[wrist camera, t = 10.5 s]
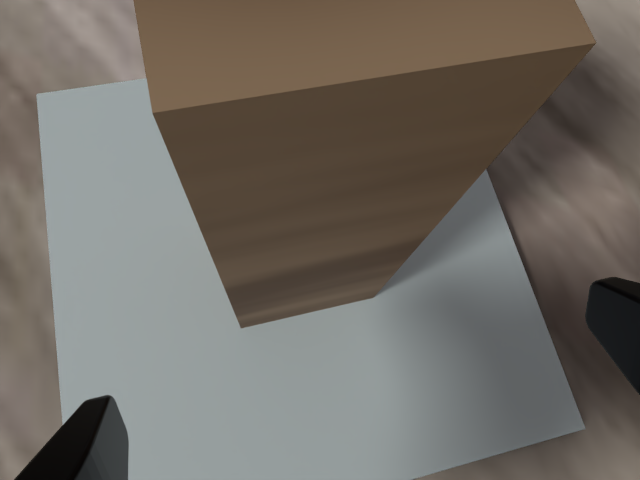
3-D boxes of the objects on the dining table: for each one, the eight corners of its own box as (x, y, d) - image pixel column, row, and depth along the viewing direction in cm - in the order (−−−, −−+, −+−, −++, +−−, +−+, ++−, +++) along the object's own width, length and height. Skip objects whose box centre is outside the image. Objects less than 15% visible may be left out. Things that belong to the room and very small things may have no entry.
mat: (578, 428, 17) (585, 428, 16) (80, 573, 14) (74, 578, 14) (432, 43, 21) (435, 36, 21) (41, 100, 19) (36, 93, 18)
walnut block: (373, 297, 17) (596, 43, 5) (241, 328, 16) (152, 113, 4) (339, 179, 18) (455, -235, 7) (215, 202, 18) (97, -216, 6)
